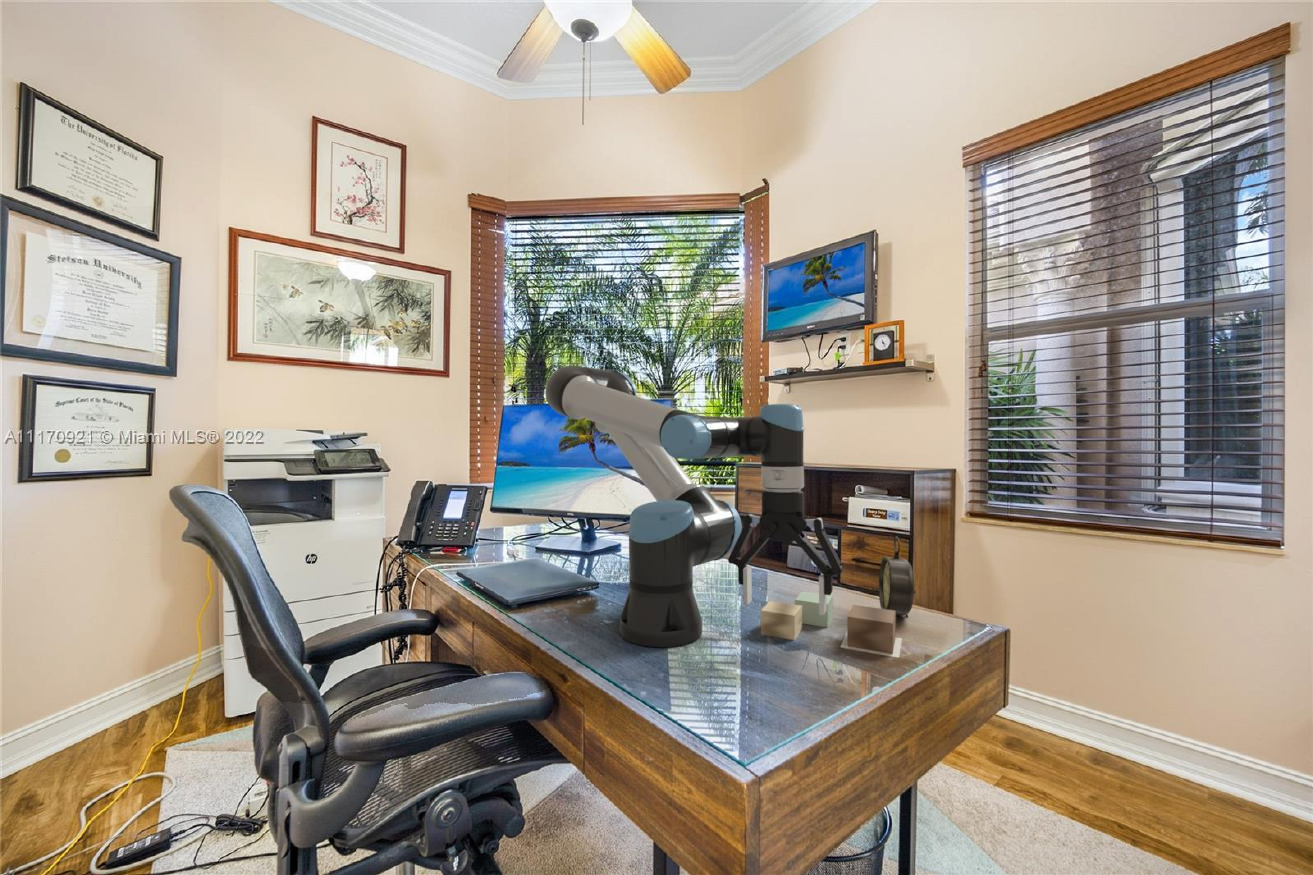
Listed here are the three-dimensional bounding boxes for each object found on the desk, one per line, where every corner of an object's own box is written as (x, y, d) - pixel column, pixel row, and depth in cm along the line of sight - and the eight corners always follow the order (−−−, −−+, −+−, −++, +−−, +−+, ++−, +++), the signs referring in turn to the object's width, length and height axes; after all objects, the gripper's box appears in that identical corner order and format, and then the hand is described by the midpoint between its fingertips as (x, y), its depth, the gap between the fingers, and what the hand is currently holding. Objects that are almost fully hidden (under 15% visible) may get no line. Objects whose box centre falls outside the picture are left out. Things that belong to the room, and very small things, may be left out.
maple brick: (760, 638, 95) (760, 610, 95) (769, 627, 100) (769, 600, 100) (794, 644, 92) (794, 615, 92) (801, 632, 97) (802, 605, 97)
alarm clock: (877, 608, 110) (877, 531, 110) (905, 610, 109) (905, 532, 109) (887, 627, 100) (888, 541, 100) (918, 629, 99) (919, 542, 98)
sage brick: (794, 625, 101) (795, 599, 101) (801, 616, 106) (801, 591, 106) (827, 631, 98) (827, 604, 98) (832, 621, 103) (833, 595, 103)
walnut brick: (847, 646, 89) (847, 616, 89) (852, 632, 96) (853, 604, 95) (892, 654, 86) (892, 623, 86) (895, 639, 92) (895, 610, 92)
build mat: (840, 650, 89) (840, 647, 89) (847, 632, 97) (847, 629, 97) (899, 661, 85) (899, 657, 85) (902, 641, 93) (902, 638, 93)
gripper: (710, 489, 98) (711, 604, 98) (852, 494, 87) (854, 624, 87) (724, 486, 105) (725, 593, 105) (858, 490, 93) (860, 610, 93)
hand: (784, 607), depth 96 cm, fingers open, 13 cm apart
